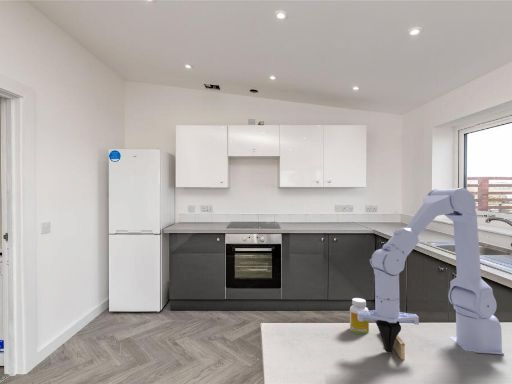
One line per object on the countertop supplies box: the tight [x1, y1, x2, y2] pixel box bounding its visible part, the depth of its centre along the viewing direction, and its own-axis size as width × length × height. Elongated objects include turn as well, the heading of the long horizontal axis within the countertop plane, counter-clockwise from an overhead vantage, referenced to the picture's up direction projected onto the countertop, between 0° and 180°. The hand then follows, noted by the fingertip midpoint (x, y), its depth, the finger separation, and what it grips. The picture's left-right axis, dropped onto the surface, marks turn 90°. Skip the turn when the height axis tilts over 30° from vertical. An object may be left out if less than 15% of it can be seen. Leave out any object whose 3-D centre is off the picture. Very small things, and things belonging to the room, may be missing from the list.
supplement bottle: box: [349, 297, 370, 335], centre depth 87 cm, size 5×5×10 cm
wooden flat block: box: [393, 334, 406, 361], centre depth 74 cm, size 7×1×4 cm, turn 173°
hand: (387, 350), depth 74 cm, fingers closed
